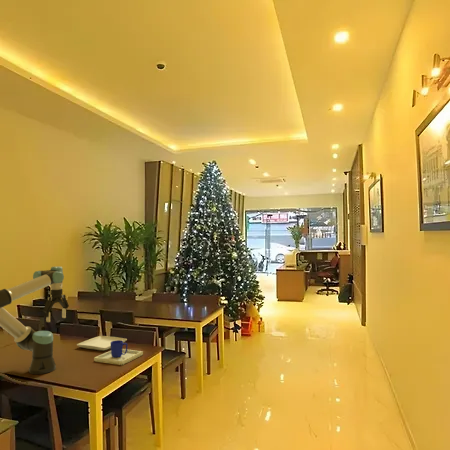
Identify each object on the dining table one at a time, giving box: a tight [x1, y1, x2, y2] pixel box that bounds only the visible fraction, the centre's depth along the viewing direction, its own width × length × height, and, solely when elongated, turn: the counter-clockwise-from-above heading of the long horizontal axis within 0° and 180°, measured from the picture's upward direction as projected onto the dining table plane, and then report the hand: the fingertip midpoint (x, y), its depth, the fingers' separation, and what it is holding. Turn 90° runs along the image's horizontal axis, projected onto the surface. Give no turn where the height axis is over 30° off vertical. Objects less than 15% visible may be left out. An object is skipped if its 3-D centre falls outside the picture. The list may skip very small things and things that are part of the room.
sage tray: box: [93, 348, 144, 366], centre depth 256 cm, size 23×23×2 cm
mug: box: [110, 340, 129, 358], centre depth 256 cm, size 8×12×10 cm
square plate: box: [76, 335, 128, 351], centre depth 287 cm, size 27×27×4 cm
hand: (56, 319), depth 256 cm, fingers open, 13 cm apart
